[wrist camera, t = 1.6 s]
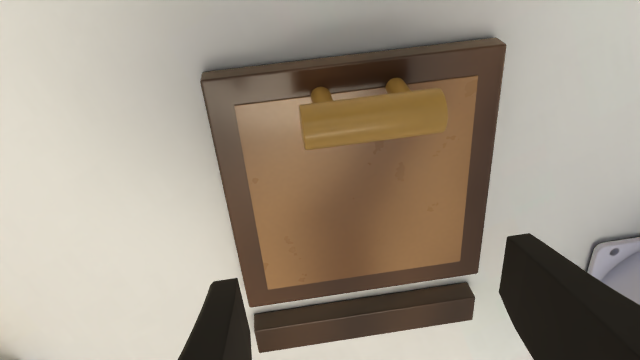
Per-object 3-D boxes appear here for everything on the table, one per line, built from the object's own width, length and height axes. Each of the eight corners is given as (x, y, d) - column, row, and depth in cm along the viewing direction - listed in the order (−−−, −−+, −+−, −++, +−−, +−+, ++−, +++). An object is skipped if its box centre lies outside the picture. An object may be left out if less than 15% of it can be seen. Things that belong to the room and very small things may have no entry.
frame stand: (467, 281, 28) (475, 297, 27) (464, 304, 29) (472, 320, 28) (253, 313, 27) (254, 331, 26) (258, 336, 28) (259, 353, 27)
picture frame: (496, 36, 20) (552, 74, 17) (470, 260, 27) (507, 324, 23) (201, 71, 20) (191, 118, 16) (249, 293, 26) (249, 364, 23)
